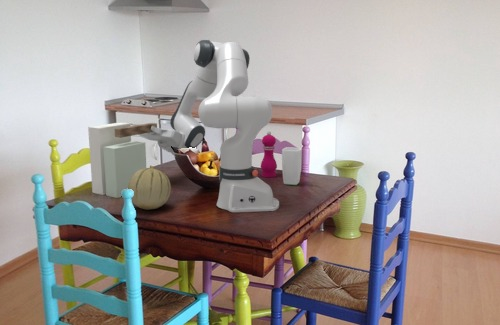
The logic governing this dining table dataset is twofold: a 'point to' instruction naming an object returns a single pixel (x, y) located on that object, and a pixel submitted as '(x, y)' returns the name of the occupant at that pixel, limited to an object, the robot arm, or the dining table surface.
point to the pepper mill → (268, 156)
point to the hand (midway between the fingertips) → (147, 127)
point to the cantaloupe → (149, 188)
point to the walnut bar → (134, 130)
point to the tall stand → (102, 151)
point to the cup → (291, 165)
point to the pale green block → (122, 165)
